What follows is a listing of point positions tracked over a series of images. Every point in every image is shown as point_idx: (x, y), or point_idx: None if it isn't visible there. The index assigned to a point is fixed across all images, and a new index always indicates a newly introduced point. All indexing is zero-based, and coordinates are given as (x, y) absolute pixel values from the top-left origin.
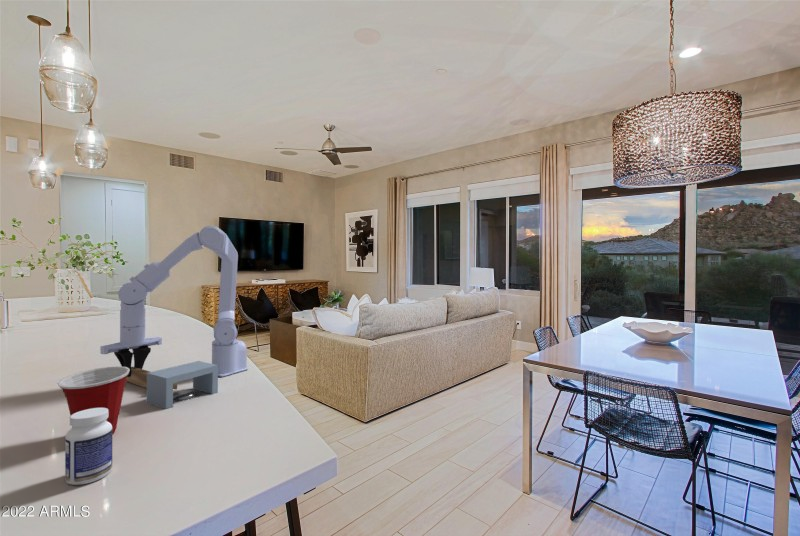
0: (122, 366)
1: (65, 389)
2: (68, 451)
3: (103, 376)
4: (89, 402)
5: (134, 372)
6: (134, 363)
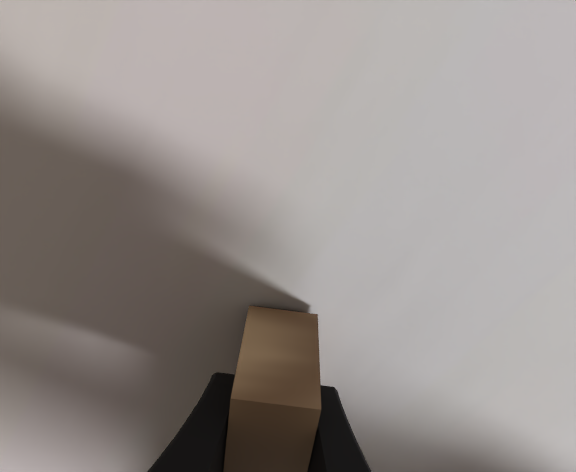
0: (172, 455)
1: None
2: None
3: None
4: None
5: None
6: (324, 467)
